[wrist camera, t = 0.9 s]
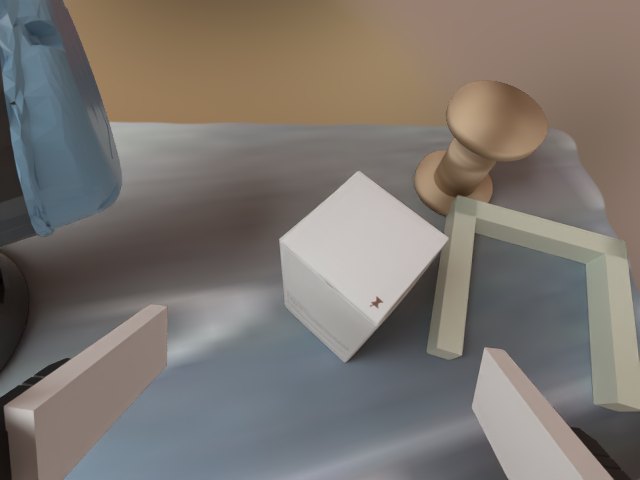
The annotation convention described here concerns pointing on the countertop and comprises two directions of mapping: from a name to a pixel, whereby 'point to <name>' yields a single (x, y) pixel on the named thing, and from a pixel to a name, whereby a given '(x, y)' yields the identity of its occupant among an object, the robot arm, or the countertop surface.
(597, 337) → the u-shaped bracket
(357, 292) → the supplement box
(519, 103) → the bobbin
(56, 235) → the countertop surface
